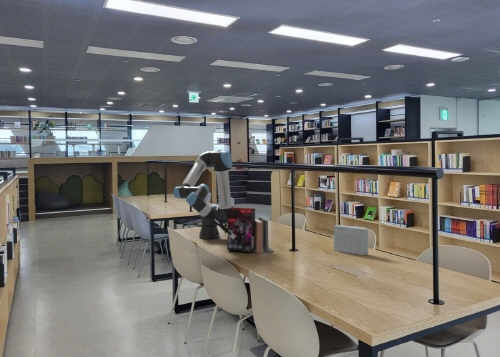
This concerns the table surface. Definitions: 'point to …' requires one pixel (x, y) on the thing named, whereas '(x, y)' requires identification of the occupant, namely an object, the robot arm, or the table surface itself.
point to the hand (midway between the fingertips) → (234, 237)
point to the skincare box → (351, 239)
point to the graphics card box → (241, 229)
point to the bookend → (265, 235)
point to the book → (258, 236)
